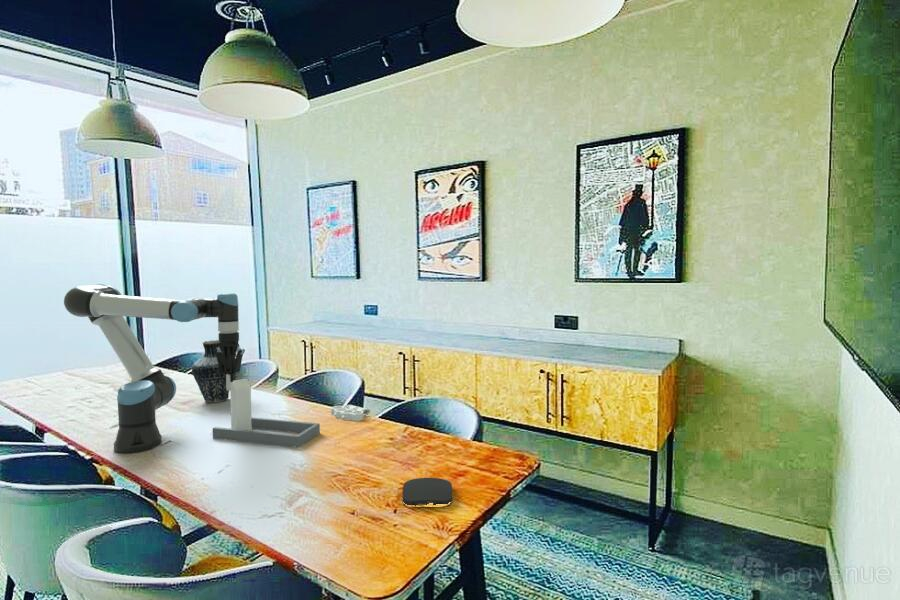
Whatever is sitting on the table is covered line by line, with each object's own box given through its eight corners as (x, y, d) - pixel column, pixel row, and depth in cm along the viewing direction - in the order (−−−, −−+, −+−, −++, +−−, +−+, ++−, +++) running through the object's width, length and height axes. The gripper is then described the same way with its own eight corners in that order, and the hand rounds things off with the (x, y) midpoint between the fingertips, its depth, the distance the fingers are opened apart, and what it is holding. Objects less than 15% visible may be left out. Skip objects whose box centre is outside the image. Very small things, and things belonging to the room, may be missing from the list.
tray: (298, 447, 184) (298, 436, 183) (212, 438, 192) (212, 428, 192) (319, 433, 199) (319, 423, 199) (239, 425, 208) (239, 416, 208)
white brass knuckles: (375, 416, 224) (351, 424, 212) (347, 409, 234) (323, 416, 222) (375, 408, 224) (351, 416, 212) (347, 402, 234) (323, 409, 222)
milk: (251, 433, 198) (251, 379, 197) (236, 436, 194) (235, 382, 193) (246, 429, 203) (245, 377, 201) (230, 432, 199) (230, 379, 197)
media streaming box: (451, 485, 154) (451, 476, 153) (453, 509, 139) (453, 498, 139) (404, 486, 153) (404, 476, 153) (401, 509, 138) (401, 499, 138)
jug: (219, 407, 233) (217, 345, 231) (183, 404, 237) (181, 343, 235) (245, 396, 254) (244, 338, 251) (212, 393, 257) (211, 337, 255)
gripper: (248, 331, 199) (250, 388, 201) (221, 330, 202) (222, 386, 204) (236, 333, 192) (238, 393, 193) (208, 332, 195) (209, 390, 196)
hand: (230, 389), depth 198 cm, fingers closed
